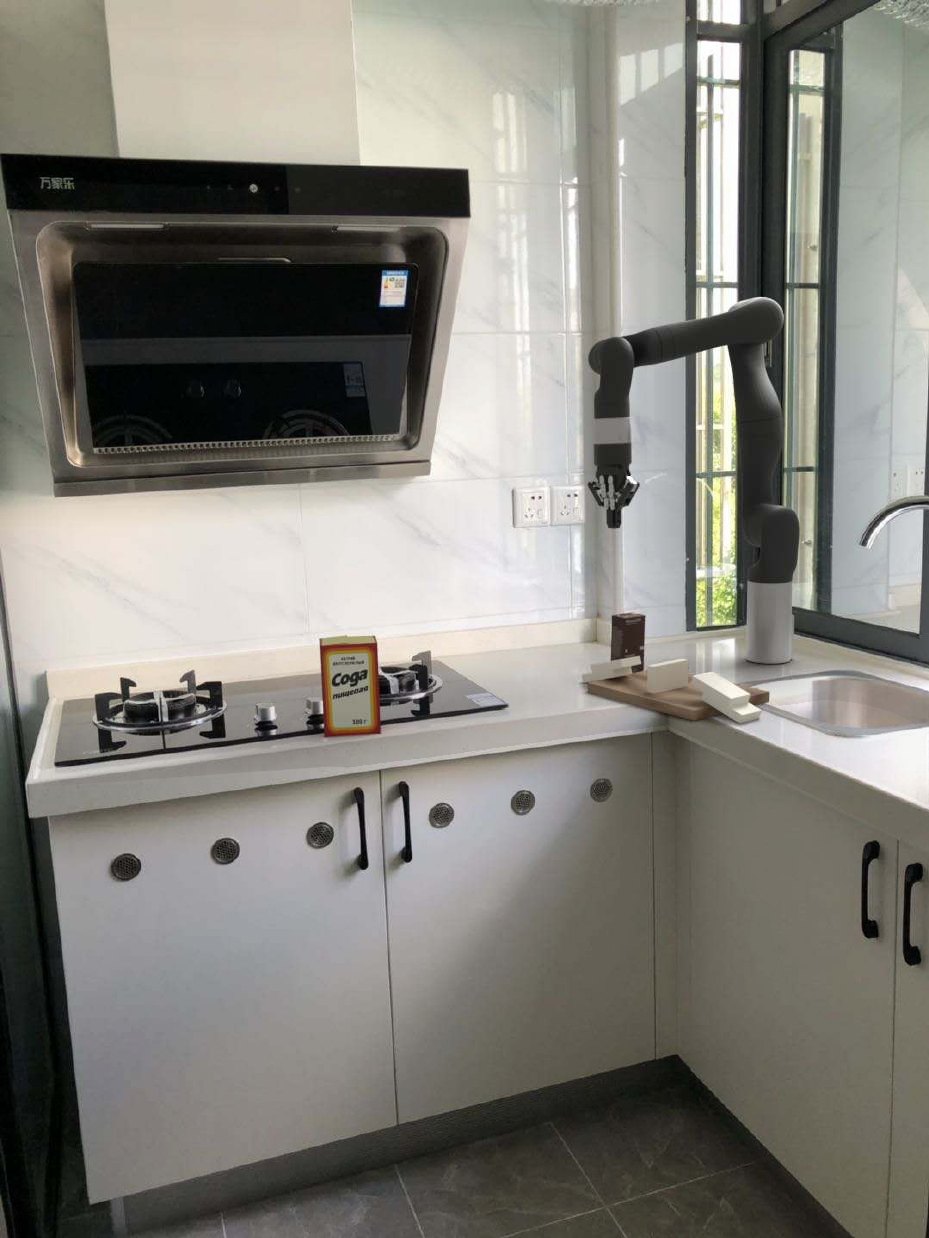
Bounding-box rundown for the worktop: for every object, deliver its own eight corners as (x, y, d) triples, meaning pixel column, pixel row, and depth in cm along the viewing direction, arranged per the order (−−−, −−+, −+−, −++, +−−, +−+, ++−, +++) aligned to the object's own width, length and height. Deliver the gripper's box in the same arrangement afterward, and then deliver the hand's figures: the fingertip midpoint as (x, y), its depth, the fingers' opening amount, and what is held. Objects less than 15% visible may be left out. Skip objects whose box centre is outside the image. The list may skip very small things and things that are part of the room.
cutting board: (660, 676, 207) (660, 667, 207) (769, 701, 185) (769, 691, 185) (587, 691, 196) (587, 682, 195) (693, 720, 174) (693, 710, 174)
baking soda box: (378, 723, 178) (374, 633, 175) (381, 733, 171) (377, 640, 169) (324, 726, 176) (319, 636, 174) (324, 737, 170) (319, 643, 167)
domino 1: (622, 667, 193) (591, 672, 201) (641, 663, 196) (610, 669, 204) (620, 659, 194) (590, 665, 201) (639, 655, 196) (608, 661, 204)
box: (624, 675, 209) (624, 617, 206) (609, 671, 212) (609, 614, 210) (646, 671, 212) (646, 614, 210) (631, 667, 215) (631, 611, 213)
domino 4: (692, 675, 179) (731, 698, 172) (712, 671, 182) (750, 694, 175) (690, 683, 180) (728, 707, 173) (709, 679, 182) (748, 702, 176)
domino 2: (613, 677, 196) (583, 682, 203) (632, 673, 199) (602, 678, 206) (611, 669, 196) (582, 674, 203) (630, 665, 199) (600, 670, 206)
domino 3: (681, 684, 192) (647, 692, 187) (681, 658, 191) (647, 665, 186) (687, 685, 191) (653, 693, 186) (688, 659, 190) (653, 666, 185)
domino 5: (703, 691, 177) (742, 715, 171) (722, 686, 180) (761, 710, 174) (701, 699, 178) (740, 723, 171) (720, 694, 181) (759, 718, 174)
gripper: (650, 440, 200) (651, 528, 203) (602, 441, 210) (604, 525, 213) (622, 441, 195) (624, 531, 198) (575, 443, 206) (578, 528, 209)
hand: (613, 528), depth 206 cm, fingers closed
